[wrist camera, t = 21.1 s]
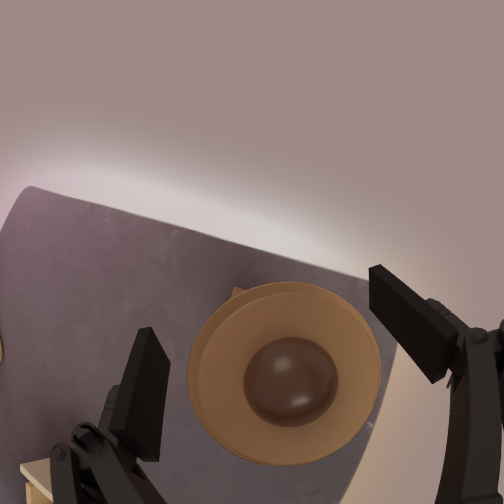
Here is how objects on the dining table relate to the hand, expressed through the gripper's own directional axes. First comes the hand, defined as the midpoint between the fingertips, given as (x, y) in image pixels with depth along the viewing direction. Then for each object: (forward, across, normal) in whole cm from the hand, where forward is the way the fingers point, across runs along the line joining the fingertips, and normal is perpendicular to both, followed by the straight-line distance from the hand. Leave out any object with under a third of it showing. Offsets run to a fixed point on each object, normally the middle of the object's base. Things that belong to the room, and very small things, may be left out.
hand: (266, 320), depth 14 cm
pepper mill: (+4, 0, -8) cm, 9 cm away
